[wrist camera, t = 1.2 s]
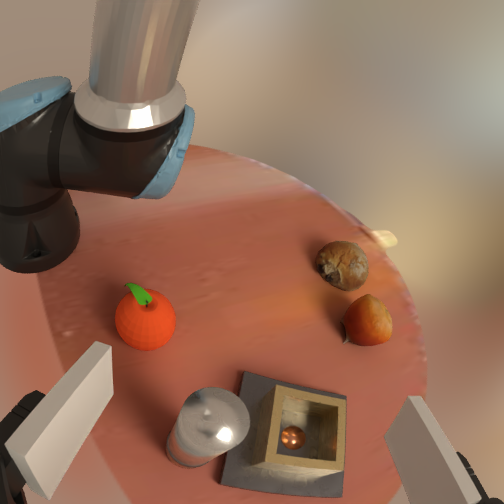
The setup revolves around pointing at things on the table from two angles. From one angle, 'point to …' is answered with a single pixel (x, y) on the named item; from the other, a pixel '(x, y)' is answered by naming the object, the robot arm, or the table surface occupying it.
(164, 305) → the clementine
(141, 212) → the table surface
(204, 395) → the silver metal tall cylinder
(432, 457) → the robot arm
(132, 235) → the table surface
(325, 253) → the bread roll
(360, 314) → the fruit
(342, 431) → the gold square holder
